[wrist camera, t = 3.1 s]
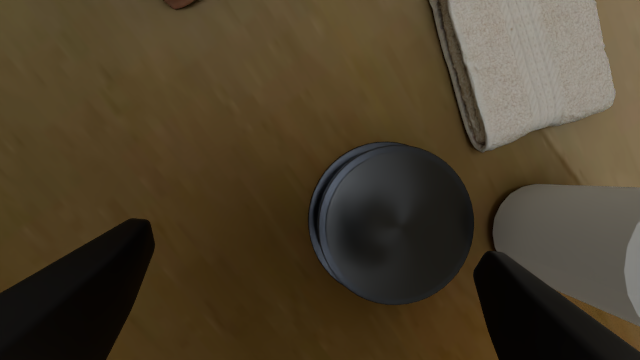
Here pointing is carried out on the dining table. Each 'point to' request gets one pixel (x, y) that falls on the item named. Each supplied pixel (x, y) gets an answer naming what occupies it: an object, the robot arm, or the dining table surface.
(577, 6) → the washcloth
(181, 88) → the dining table surface
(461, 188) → the stand
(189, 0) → the pottery mug
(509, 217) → the can
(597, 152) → the dining table surface
